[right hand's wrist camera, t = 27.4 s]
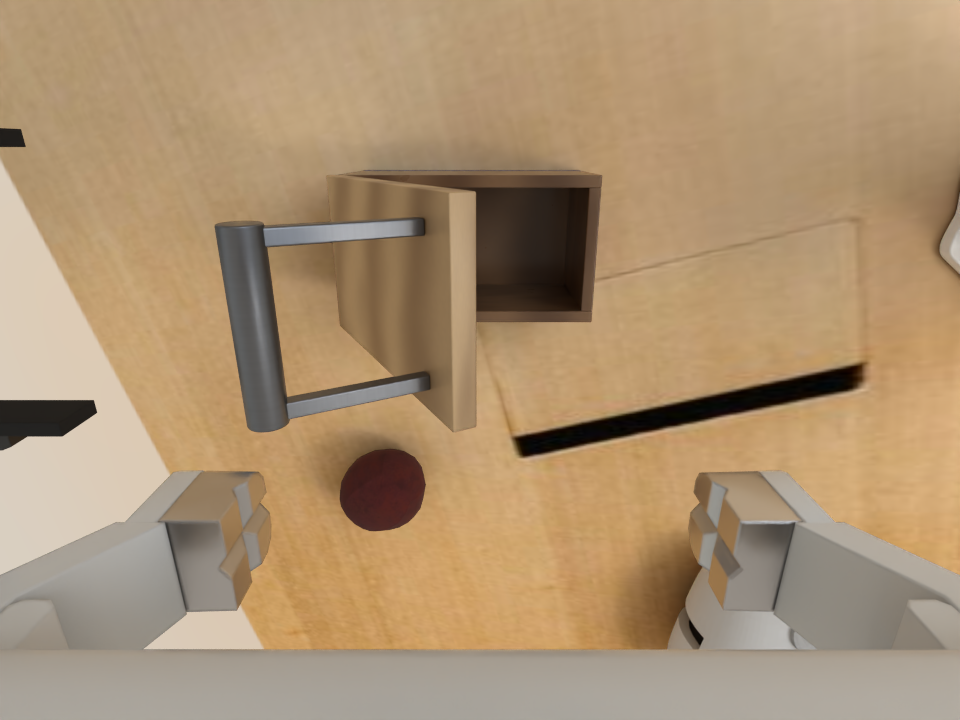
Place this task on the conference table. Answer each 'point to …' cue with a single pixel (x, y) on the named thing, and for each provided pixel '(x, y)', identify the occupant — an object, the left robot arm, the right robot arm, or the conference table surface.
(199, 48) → the conference table surface
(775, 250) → the conference table surface
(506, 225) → the chest
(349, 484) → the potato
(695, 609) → the grey notched piece
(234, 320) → the lid
